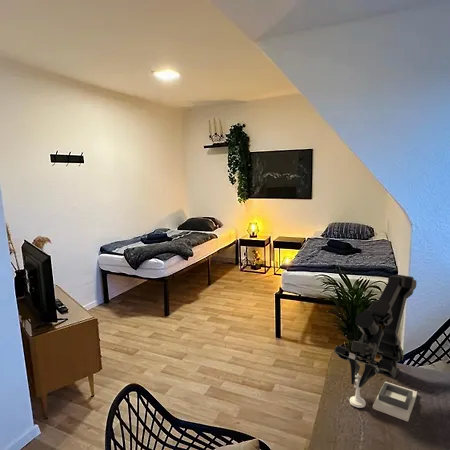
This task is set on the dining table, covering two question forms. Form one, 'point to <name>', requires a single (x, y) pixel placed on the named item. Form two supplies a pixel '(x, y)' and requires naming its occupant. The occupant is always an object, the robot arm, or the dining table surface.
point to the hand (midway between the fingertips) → (355, 385)
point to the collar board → (395, 401)
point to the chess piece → (357, 395)
